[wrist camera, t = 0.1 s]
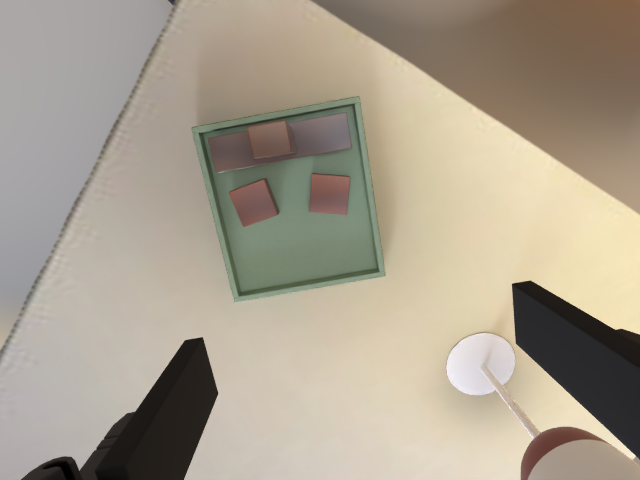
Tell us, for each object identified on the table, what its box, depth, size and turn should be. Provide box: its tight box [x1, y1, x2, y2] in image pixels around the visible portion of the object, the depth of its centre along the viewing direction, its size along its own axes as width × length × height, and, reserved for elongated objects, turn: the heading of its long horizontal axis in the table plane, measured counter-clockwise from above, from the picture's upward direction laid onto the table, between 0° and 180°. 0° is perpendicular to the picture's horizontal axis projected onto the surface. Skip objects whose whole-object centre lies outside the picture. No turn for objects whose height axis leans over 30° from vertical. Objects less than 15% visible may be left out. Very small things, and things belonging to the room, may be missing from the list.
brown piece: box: [207, 112, 352, 173], centre depth 34 cm, size 4×14×12 cm, turn 100°
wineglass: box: [446, 333, 640, 480], centre depth 35 cm, size 9×10×23 cm
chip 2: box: [309, 173, 351, 215], centre depth 40 cm, size 4×4×2 cm
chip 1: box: [229, 178, 280, 227], centre depth 40 cm, size 4×4×2 cm
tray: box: [192, 96, 385, 302], centre depth 40 cm, size 19×17×2 cm
